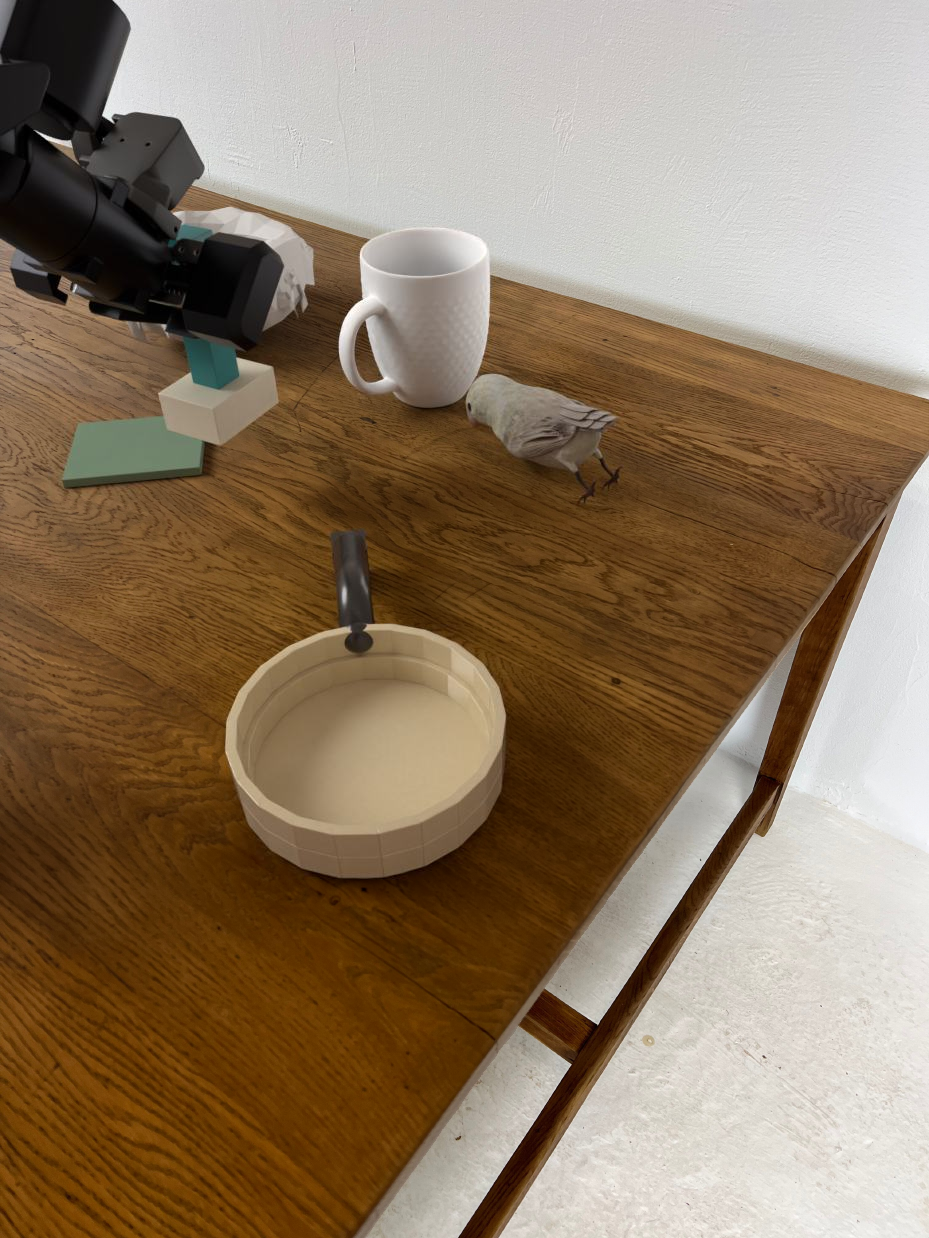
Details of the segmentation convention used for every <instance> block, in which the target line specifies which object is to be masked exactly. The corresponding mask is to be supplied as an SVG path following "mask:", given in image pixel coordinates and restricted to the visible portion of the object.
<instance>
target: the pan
mask: <svg viewBox="0 0 929 1238" xmlns="http://www.w3.org/2000/svg"><path fill="white" fill-rule="evenodd" d="M363 631H364V632H367V633H368V634H369V635H371V637H372V638H373V646H372V647H371V649H369V650H368V651H366V652H364V653H359V654H357V653H352V652H350V651H348V650H347V649H346V647H345V645H344V642H345V639H346V637H347V636H348V635H349V634H350V633H351V632H352V631H350V630H349V629H347V627H342V628H339V627H338V628H333V629H329V630H323V631H321V632H318V633H316V634H314V635H311V636H309V637H306V638H304V639H301V640H300V641H297V642H295V643H292V644H291V645H288V646H286V647H285V648H284V649H282V650H281V651H280V652H278V653H277V654H275V655H274V656H272V657H271V658H270V659H268V660H267V661H266V662H264V663H262V664H261V665H259V667H258V668H257V669H256V670H255V672H253V674H252V675H251V676H250V678H249V679H248V680H247V681H246V682H245V683H244V684H243V685H242V687H241V688H240V689H239V691H238V692H237V695H236V697H235V699H234V702H233V704H232V707H231V709H230V710H229V713H228V716H227V718H226V723H225V724H226V725H225V743H224V744H225V747H224V751H225V756H226V760H227V763H228V767H229V770H230V773H231V776H232V780H233V783H234V787H235V791H236V794H237V798H238V800H239V802H240V806H241V808H242V811H243V814H244V817H245V819H246V823H247V824H248V826H249V827H250V829H252V831H253V832H254V833H255V834H256V835H257V837H258V838H259V839H260V840H261V842H262V843H264V844H265V846H266V847H267V848H268V850H270V851H271V852H273V853H275V854H277V855H278V856H280V857H281V858H283V859H285V860H287V861H288V862H290V863H291V864H293V865H296V866H297V867H299V868H300V869H302V870H305V871H310V872H314V873H317V874H321V875H325V876H330V877H333V878H336V879H337V878H338V879H378V878H380V879H381V878H387V877H390V876H391V877H392V876H395V875H400V874H404V873H408V872H411V871H414V870H417V869H421V868H424V867H426V866H428V865H431V864H432V863H433V862H435V861H437V860H439V859H441V858H442V857H445V856H446V855H448V854H450V853H451V852H453V851H455V850H457V849H459V847H461V846H462V845H463V844H464V843H465V842H466V841H467V840H468V839H469V838H470V837H471V836H472V835H473V834H474V833H475V832H476V831H477V830H478V829H479V828H480V827H481V826H482V825H483V824H484V823H485V822H486V821H487V819H488V817H489V815H490V813H491V812H492V810H493V807H494V805H495V803H496V802H497V800H498V798H499V796H500V794H501V792H502V789H503V780H504V773H505V765H506V743H507V742H506V741H507V713H506V709H505V705H504V701H503V697H502V693H501V689H500V687H499V685H498V683H497V682H496V680H495V679H494V677H493V676H492V675H491V673H490V672H489V670H488V669H487V667H486V666H485V664H484V663H483V662H482V661H481V660H480V659H478V658H477V657H476V656H475V655H473V654H472V653H471V652H469V651H468V650H466V648H464V647H463V646H462V645H461V644H459V643H457V642H456V641H453V640H451V639H449V638H446V637H444V636H441V635H439V634H437V633H434V632H432V631H430V630H427V629H424V628H418V627H412V626H406V625H402V624H397V623H375V624H367V627H366V628H365V629H364V630H363Z"/></svg>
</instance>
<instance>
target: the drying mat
mask: <svg viewBox="0 0 929 1238" xmlns="http://www.w3.org/2000/svg"><path fill="white" fill-rule="evenodd" d="M75 430H76V431H75V433H74V437H73V441H72V444H71V447H70V451H69V454H68V458H67V460H66V463H65V467H64V471H63V474H62V478H61V482H62V485H63V487H64V488H65V489H68V488H78V487H88V486H100V485H109V484H110V485H111V484H119V483H129V482H141V481H152V480H161V479H162V480H163V479H171V478H172V479H173V478H182V477H193V476H202V474H203V465H204V464H203V462H204V454H205V444H206V441H203V440H200V439H196V438H193V437H190V436H186V435H183V434H180V433H176V432H173V431H170V430H167V427H166V423H165V419H164V415H158V416H147V417H134V418H125V419H115V420H114V419H113V420H103V421H90V422H81V423H80V422H79V423H78V424H77V427H76V429H75Z"/></svg>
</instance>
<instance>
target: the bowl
mask: <svg viewBox="0 0 929 1238" xmlns="http://www.w3.org/2000/svg"><path fill="white" fill-rule="evenodd" d="M172 213H173V214H174V215H175V216H176V217H178V218H179V219H180V220H181V221H182V224H181V226H182V225H184V224H185V225H190V226H195V227H200V228H205V229H210V230H212V232H213V235H214V234H216V233H218V232H222V233H227V234H232V235H237V236H242V237H247V238H252V239H257V240H262V241H264V242H265V243H267V244H268V245H269V246H270V247H271V248H272V249H273V250H274V251H275V252H277V253H278V254H279V255H280V257H281V259H282V261H283V264H284V269H283V272H282V274H281V277H280V280H279V283H278V286H277V289H276V292H275V295H274V298H273V301H272V304H271V307H270V310H269V313H268V316H267V319H266V322H265V325H264V328H263V331H262V333H263V332H265V331H266V330H268V329H270V328H271V327H274V326H275V325H277V324H279V323H280V322H282V321H284V320H285V318H287V317H288V316H289V315H290V314H291V313H292V312H293V311H294V312H295V315H296V318H297V319H299V315H298V312H297V311H298V310H297V308H296V307H297V305H298V303H300V307H301V312H302V313H304V312H305V310H306V309H307V307H308V305H309V302H308V299H307V296H306V293H305V288H306V287H308V285H310V286H316V285H315V284H316V283H315V275H314V267H313V266H314V265H313V262H314V257H315V256H314V248H312V247H311V246H310V245H309V244H307V242H306V241H305V239H303V238H302V237H301V236H299V234H298V233H296V232H295V231H294V230H293V229H292V226H289V225H287V224H285V223H282V222H280V221H277V220H274V219H272V218H271V217H268V216H266V215H264V214H262V213H260V212H253V211H251V212H250V211H245V210H244V209H243V210H242V209H239V208H237V207H233V206H227V207H223V208H217V209H214V210H180V211H175V212H172ZM125 322H126V324H127V326H128V328H129V329H130V331H131V334H132V335H133V337H135V338H136V339H138V340H140V341H142V342H143V343H145V344H147V345H148V344H149V343H148V340H147V337H146V334H145V330H144V329H146V330H147V331H148V332H151V333H153V334H156V335H158V336H162V337H165V338H168V339H169V340H170V339H171V340H175V341H179V342H183V343H184V340H183V336H179V335H175V334H172V333H168V332H165V328H166V325H164V324H153V323H141V322H131V321H125Z"/></svg>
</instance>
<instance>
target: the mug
mask: <svg viewBox="0 0 929 1238" xmlns="http://www.w3.org/2000/svg"><path fill="white" fill-rule="evenodd" d="M490 255H491V254H490V248H489V246H488V244H487V243H486V242H485V241H484V239H482V238H480V237H478V236H477V235H474V234H472V233H469V232H467V231H464V230H459V229H453V228H449V227H446V228H445V227H437V226H436V227H435V226H428V227H427V226H423V227H422V226H420V227H410V228H402V229H396V230H392V231H389V232H386V233H382V234H380V235H377V236H375V237H373V238H371V239H370V240H368V241H367V242H366V243H364V244H363V246H362V247H361V249H360V252H359V264H360V265H359V266H360V267H359V268H360V283H361V293H362V294H361V297H362V299H361V300H360V301H358V302H356V303H355V304H354V306H352V307H351V309H350V310H349V311H348V313H347V314H346V315H345V317H344V319H343V322H342V324H341V328H340V332H339V338H338V354H339V360H340V365H341V368H342V371H343V373H344V375H345V377H346V379H347V380H348V382H349V383H350V384H351V385H352V386H353V387H354V388H355V389H356V390H358V391H360V392H362V393H363V394H364V393H365V394H367V395H373V396H379V395H388V394H391V393H392V394H393V395H394V396H395V397H396V399H398V400H399V401H400V402H403V403H404V404H406V405H409V406H412V407H415V408H416V407H417V408H425V409H434V408H435V409H436V408H442V407H447V406H450V405H453V404H455V403H457V402H459V400H461V399H462V398H463V397H465V395H467V393H468V390H469V388H470V386H471V385H472V384H473V382H474V381H475V380H476V378H477V376H478V373H479V371H480V368H481V365H482V363H483V358H484V355H485V351H486V346H487V342H488V334H489V326H490V316H491V315H490V307H491V273H490V272H491V271H490V270H491V269H490V268H491V265H490V263H491V262H490V258H491V257H490ZM364 322H365V324H366V325H365V326H366V329H367V334H368V335H367V336H368V339H369V344H370V346H371V353H372V354H373V357H374V361H375V363H376V366H377V368H378V370H379V373H380V374H381V376H382V378H383V379H380V380H378V381H374V382H368V381H366V380H364V379H363V378H362V377H361V375H360V373H359V371H358V367H357V363H356V356H355V347H356V339H357V335H358V332H359V329H360V327H362V324H363V323H364Z"/></svg>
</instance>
